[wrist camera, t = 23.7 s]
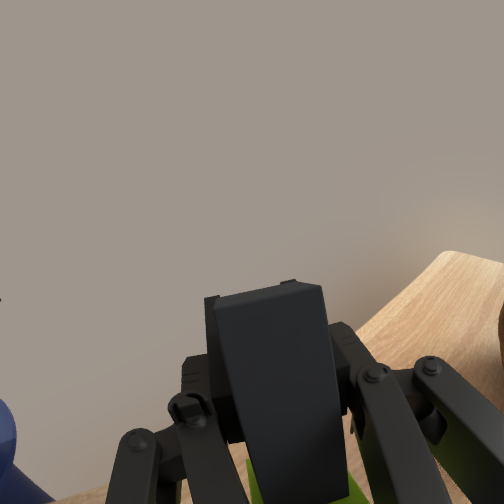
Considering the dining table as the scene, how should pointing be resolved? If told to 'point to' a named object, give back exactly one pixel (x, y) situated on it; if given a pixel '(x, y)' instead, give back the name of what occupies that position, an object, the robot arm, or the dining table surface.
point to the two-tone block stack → (286, 394)
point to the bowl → (501, 332)
